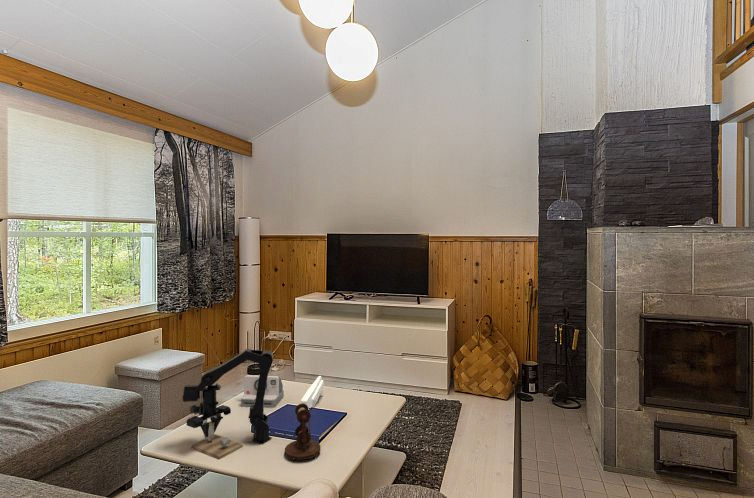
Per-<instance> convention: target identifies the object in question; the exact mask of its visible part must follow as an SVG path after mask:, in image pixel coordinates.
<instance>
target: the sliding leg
mask: <svg viewBox="0 0 754 498" xmlns="http://www.w3.org/2000/svg"><path fill="white" fill-rule="evenodd" d="M207 422H208V423H209V431H208V436H207V437H205V436H204V439H207V440H208V442H210V441H211V438H214V435H215V433H214V425H215V422H212V421H211V420H210V421H207Z"/></svg>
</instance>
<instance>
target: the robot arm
mask: <svg viewBox="0 0 754 498" xmlns="http://www.w3.org/2000/svg"><path fill="white" fill-rule="evenodd" d="M246 361H250V362H253V363H256V364H259V382H258V388H257V394H256V400H255V403H254V405H252V404H251V406H250V407H249V413H248V418H247V419H248V420H249V423H250V425H252V426H253V438H251V442H254V443H257V444H259V445H263V444H264V443H266V442H269V441H270V440H272V436H270V425H269V416H268V415H267V414H266V413H265V408H264V404H263V401H264V395H265V389H266V383H267V377H268V375H269V373H270V370H271V367H272V364H273V361H274V353H273V351H271V350H269V349H265V350H259V349H251V348H246V349H244V350H243V351H242V352H240V353H239V354H237V355H235V356H233V357H232V358H230V359H228V360H227V361H225V362H224V363H222V364H220V365H218V366H214V367H212V368H209V369H207V370H206V371H204V372H203V375H202V376H201V379H200V381H199V383H198V384H193V385H190V384H187V385H185V386H184V388H183V395H182V402H183V403H189V402H192V403H193V402H198V401H199V399H201V402H200V403H199V404H198V405H196V404H194V405H191V406H190V407H189V413H190V414H191V415H193V414H194V416H191V417H189V418H187V419H186V426H188V427H190V428H192V429H198V428H199V427H200V428H201V431H202V432H203V436H204V438H205V437H207V436H208V431H209V423H208V422H209V421H208V419H210V421H212V422H215V425H214V434H215V433H216V431H217V429H218V427H219V424H220V423H221V421H222V419H224V416H228V415H230V414H231V412H232V411H231V407H230V406H227V405H224V404H221V405H219V401H217V391H220V390H221V388H222V385H220V384H219V383H218V381H220V378H221V377H223V376H224V375H225V374H226V373H229V372H230V371H231V370H233V369H234V368H235V369H236V368H237V367H239V366H240V365H242V364H243V363H245V362H246ZM216 382H217V383H216ZM217 405H219V406H217ZM222 413H223V415H224V416H223V415H222ZM197 414H198V415H199V416H196V415H197Z"/></svg>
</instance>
